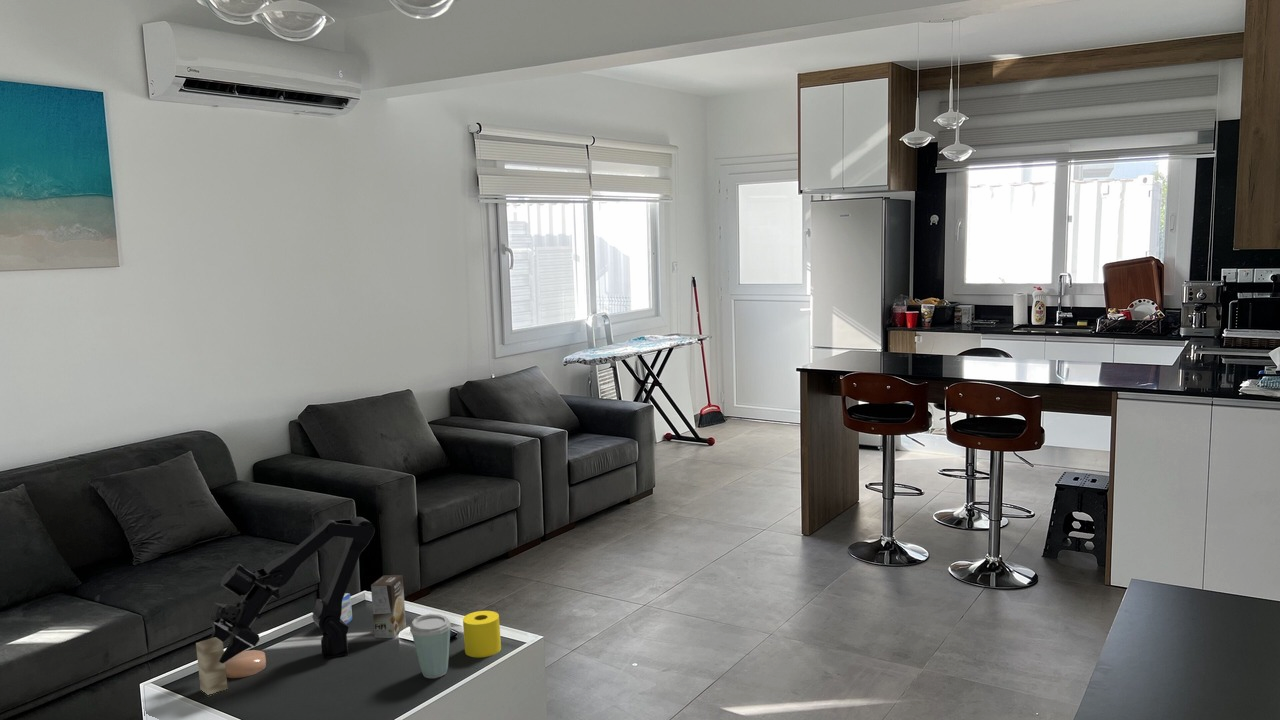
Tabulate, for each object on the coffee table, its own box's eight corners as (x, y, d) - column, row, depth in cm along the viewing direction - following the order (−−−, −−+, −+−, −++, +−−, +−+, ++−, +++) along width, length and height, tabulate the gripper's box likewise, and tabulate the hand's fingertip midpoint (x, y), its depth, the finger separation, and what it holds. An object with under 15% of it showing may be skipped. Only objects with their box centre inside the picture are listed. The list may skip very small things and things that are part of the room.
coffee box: (394, 638, 276) (390, 585, 274) (374, 638, 277) (369, 585, 275) (406, 626, 285) (402, 574, 283) (386, 625, 286) (382, 574, 284)
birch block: (220, 683, 251) (215, 636, 250) (227, 689, 247) (222, 641, 246) (200, 690, 247) (195, 643, 246) (208, 696, 244) (203, 648, 242)
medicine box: (339, 630, 284) (337, 602, 283) (326, 629, 285) (324, 601, 284) (352, 620, 292) (350, 592, 291) (339, 619, 293) (337, 592, 292)
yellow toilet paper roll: (478, 640, 272) (476, 609, 271) (507, 645, 268) (505, 613, 267) (457, 654, 263) (455, 621, 262) (487, 659, 259) (485, 626, 258)
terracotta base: (268, 658, 266) (267, 647, 266) (263, 674, 256) (262, 663, 255) (226, 664, 263) (225, 653, 263) (219, 680, 253) (218, 670, 253)
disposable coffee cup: (462, 667, 254) (458, 613, 253) (441, 685, 244) (437, 629, 243) (427, 663, 258) (423, 610, 256) (405, 680, 248) (401, 625, 246)
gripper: (215, 582, 256) (176, 634, 249) (243, 598, 242) (203, 653, 236) (246, 602, 262) (209, 653, 255) (276, 618, 249) (237, 673, 242)
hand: (213, 657), depth 247 cm, fingers open, 9 cm apart
